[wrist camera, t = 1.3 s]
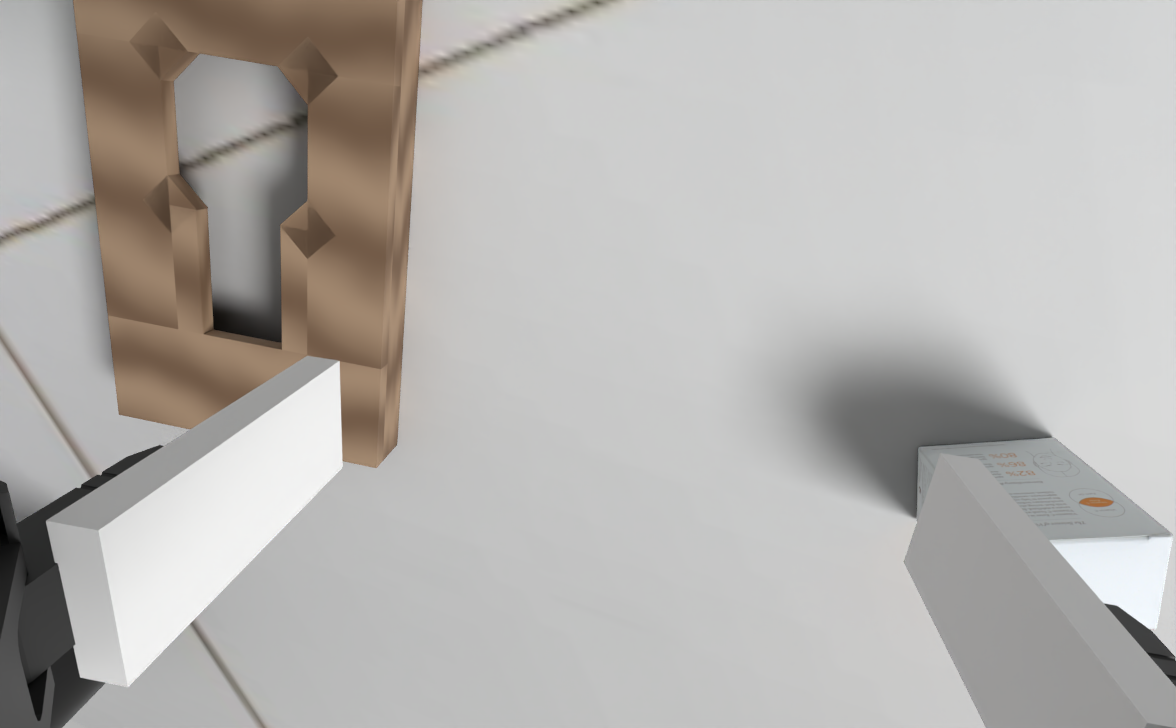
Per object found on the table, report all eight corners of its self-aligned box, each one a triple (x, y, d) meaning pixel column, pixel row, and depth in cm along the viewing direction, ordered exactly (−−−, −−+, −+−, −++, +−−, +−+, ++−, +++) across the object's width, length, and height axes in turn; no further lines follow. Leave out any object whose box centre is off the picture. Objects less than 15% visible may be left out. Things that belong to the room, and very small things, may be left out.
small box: (914, 520, 43) (982, 637, 34) (915, 443, 42) (988, 542, 32) (1049, 514, 42) (1161, 634, 32) (1056, 434, 40) (1178, 535, 30)
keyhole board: (117, -52, 38) (65, -68, 35) (422, -4, 36) (398, -16, 33) (156, 395, 48) (118, 414, 45) (397, 444, 46) (376, 467, 43)
